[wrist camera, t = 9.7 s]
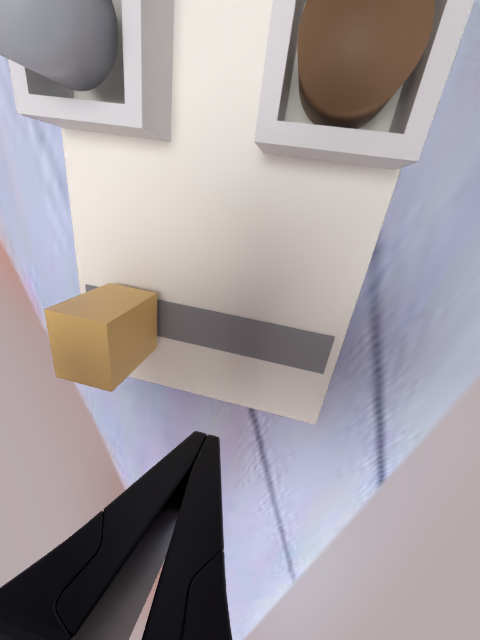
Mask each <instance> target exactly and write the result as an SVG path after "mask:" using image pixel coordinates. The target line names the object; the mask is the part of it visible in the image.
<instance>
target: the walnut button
mask: <svg viewBox="0 0 480 640" xmlns="http://www.w3.org/2000/svg"><path fill="white" fill-rule="evenodd" d="M434 15H435V0H307V2H306V5H305V7H304V10H303V13H302V16H301V20H300V25H299V31H298V39H297V55H298V80H299V96H300V100H301V104H302V107H303V109H304V111H305V113H306V115H307V116H308V118H309V119H310V120H311V121H312V123H313V124H315V125H323V126H333V127H342V128H351V129H358V128H360V127H362V126H363V125H365V124H366V123H368V122H369V121H371V120H372V119H373V118H374V117H375V116H376V115H377V114H378V113H379V112H380V111H381V110H382V108H383V107H384V106H385V105H386V103H387V102H388V101H389V100H390V99H391V97H392V96H393V95H394V94H395V93H396V91H397V90H398V89H399V88H400V87H401V85H402V84H403V83H404V82H405V80H406V79H407V78H408V77H409V75H410V74H411V73H412V71H413V70H414V69H415V67H416V65H417V64H418V62H419V60H420V59H421V57H422V55H423V53H424V50H425V48H426V46H427V43H428V40H429V38H430V34H431V31H432V27H433V21H434Z"/></svg>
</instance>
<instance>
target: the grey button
mask: <svg viewBox="0 0 480 640" xmlns="http://www.w3.org/2000/svg"><path fill="white" fill-rule="evenodd" d="M117 46H118V26H117V18H116V13H115V9H114V6H113V3H112V0H0V55H1V56H3V57H6V58H8V59H10V60H12V61H14V62H16V63H18V64H20V65H22V66H24V67H26V68H28V69H30V70H32V71H34V72H36V73H38V74H40V75H42V76H44V77H46V78H48V79H50V80H52V81H54V82H56V83H58V84H60V85H62V86H64V87H66V88H69V89H71V90H75V91H88V90H91V89H94V88H95V87H97V86H99V85H100V84H101V83H102V82H103V81H104V80H105V79H106V77H107V76H108V74H109V73H110V71H111V69H112V66H113V64H114V61H115V58H116V53H117Z"/></svg>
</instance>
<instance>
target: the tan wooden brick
mask: <svg viewBox="0 0 480 640" xmlns="http://www.w3.org/2000/svg"><path fill="white" fill-rule="evenodd" d="M44 311H45V317H46V322H47V328H48V334H49V339H50V345H51V350H52V356H53V362H54V367H55V373H56V377H58V378H62V379H65V380H69V381H73V382H77V383H80V384H84V385H88V386H91V387H95V388H99V389H103V390H106V391H110V392H112V391H113V390H114V389H115V388H116V387H117V386H118V385H119V384H120V383H121V382H122V381H124V380H125V379H126V378H127V377H128V376H129V375H130V374H131V373H132V372H133V371H134V370H135V369H136V368H137V367H138V366H139V365H140V364H141V363H142V362H143V361H144V360H145V359H146V358H147V357H148V356H149V355H150V354H151V353H152V352H153V351H154V350H155V349H156V348H157V293H155V292H150V291H145V290H141V289H136V288H131V287H126V286H121V285H117V284H112V283H108V284H105V285H103V286H100V287H98V288H96V289H93V290H91V291H88V292H86V293H83V294H81V295H78V296H76V297H73V298H71V299H68V300H66V301H64V302H61V303H59V304H56V305H54V306H51V307H49V308H46V309H44Z"/></svg>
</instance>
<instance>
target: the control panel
mask: <svg viewBox="0 0 480 640" xmlns="http://www.w3.org/2000/svg"><path fill="white" fill-rule="evenodd" d="M306 2H307V0H112V3H113V6H114V9H115V13H116V18H117V26H118V46H117V53H116V58H115V61H114V64H113V66H112V69H111V71H110V73H109V74H108V76H107V77H106V79H105V80H104V81H103V82H102V83H101V84H100V85H99V86H97V87H95V88H94V89H91V90H88V91H75V90H71V89H69V88H66V87H64V86H62V85H60V84H58V83H56V82H54V81H52V80H50V79H48V78H46V77H44V76H42V75H40V74H38V73H36V72H34V71H32V70H30V69H28V68H26V67H24V66H22V65H20V64H18V63H16V62H14V61H12V60H10V59H8V62H9V68H10V74H11V80H12V86H13V92H14V97H15V103H16V109H17V114H21V115H24V116H27V117H30V118H33V119H36V120H40V121H43V122H46V123H49V124H52V125H55V126H59V127H61V130H62V138H63V147H64V156H65V164H66V173H67V182H68V190H69V199H70V208H71V216H72V225H73V234H74V243H75V251H76V260H77V269H78V277H79V286H80V295H81V294H83V293H86V292H88V291H91V290H93V289H96V288H98V287H100V286H103V285H105V284H108V283H112V284H117V285H121V286H126V287H131V288H136V289H141V290H145V291H150V292H155V293H157V348H156V349H155V350H154V351H153V352H152V353H151V354H150V355H149V356H148V357H147V358H146V359H145V360H144V361H143V362H142V363H141V364H140V365H139V366H138V367H137V368H136V369H135V370H134V371H133V372H132V373H131V374H130V375H129V376H128V377H132V378H136V379H140V380H144V381H148V382H152V383H156V384H159V385H163V386H167V387H171V388H175V389H179V390H183V391H187V392H191V393H194V394H198V395H202V396H206V397H210V398H214V399H218V400H222V401H226V402H229V403H233V404H237V405H241V406H245V407H249V408H253V409H257V410H261V411H264V412H268V413H272V414H276V415H280V416H284V417H288V418H292V419H296V420H300V421H303V422H307V423H311V424H315V425H316V422H317V419H318V416H319V413H320V410H321V407H322V404H323V401H324V398H325V395H326V392H327V389H328V386H329V383H330V380H331V377H332V374H333V371H334V368H335V365H336V362H337V359H338V356H339V353H340V350H341V347H342V344H343V341H344V338H345V335H346V332H347V329H348V326H349V323H350V320H351V317H352V314H353V311H354V308H355V305H356V302H357V299H358V296H359V293H360V290H361V287H362V284H363V281H364V278H365V275H366V272H367V269H368V266H369V263H370V260H371V257H372V254H373V251H374V248H375V245H376V242H377V239H378V236H379V233H380V230H381V227H382V224H383V221H384V218H385V215H386V212H387V209H388V206H389V203H390V200H391V197H392V194H393V191H394V188H395V185H396V182H397V179H398V176H399V173H400V170H401V168H402V167H404V166H407V165H410V164H412V163H415V162H418V160H419V157H420V155H421V152H422V149H423V146H424V143H425V140H426V138H427V135H428V132H429V129H430V126H431V123H432V121H433V118H434V115H435V112H436V109H437V106H438V104H439V101H440V98H441V95H442V92H443V89H444V87H445V84H446V81H447V78H448V75H449V72H450V70H451V67H452V64H453V61H454V58H455V55H456V53H457V50H458V47H459V44H460V41H461V38H462V36H463V33H464V30H465V27H466V24H467V21H468V19H469V16H470V13H471V10H472V7H473V4H474V2H475V0H435V15H434V21H433V27H432V31H431V34H430V38H429V40H428V43H427V46H426V48H425V50H424V53H423V55H422V57H421V59H420V60H419V62H418V64H417V65H416V67H415V69H414V70H413V71H412V73H411V74H410V75H409V77H408V78H407V79H406V80H405V82H404V83H403V84H402V85H401V87H400V88H399V89H398V90H397V91H396V93H395V94H394V95H393V96H392V97H391V99H390V100H389V101H388V102H387V103H386V105H385V106H384V107H383V108H382V110H381V111H380V112H379V113H378V114H377V115H376V116H375V117H374V118H373V119H372V120H371V121H369V122H368V123H366V124H365V125H363V126H362V127H360V128H358V129H351V128H342V127H333V126H323V125H315V124H313V123H312V121H311V120H310V119H309V118H308V116H307V115H306V113H305V111H304V109H303V107H302V104H301V100H300V96H299V80H298V55H297V39H298V31H299V25H300V20H301V16H302V13H303V10H304V7H305V5H306Z"/></svg>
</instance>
